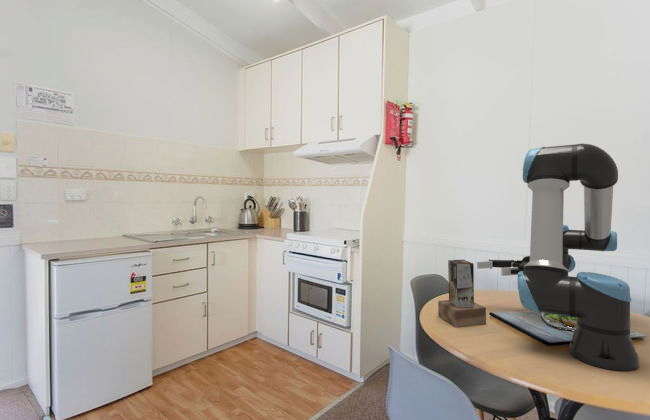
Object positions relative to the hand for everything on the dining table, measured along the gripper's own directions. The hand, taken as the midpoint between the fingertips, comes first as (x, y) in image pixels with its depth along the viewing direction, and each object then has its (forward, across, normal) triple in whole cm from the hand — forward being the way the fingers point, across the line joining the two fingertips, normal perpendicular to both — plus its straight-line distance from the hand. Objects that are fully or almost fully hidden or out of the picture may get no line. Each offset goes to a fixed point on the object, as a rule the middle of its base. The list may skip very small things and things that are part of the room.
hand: (489, 268), depth 131 cm
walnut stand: (+12, +1, -19) cm, 22 cm away
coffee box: (+12, +1, -13) cm, 18 cm away
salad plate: (-23, -13, -19) cm, 33 cm away
